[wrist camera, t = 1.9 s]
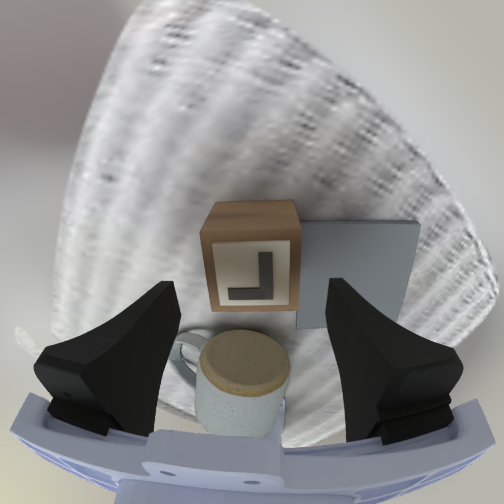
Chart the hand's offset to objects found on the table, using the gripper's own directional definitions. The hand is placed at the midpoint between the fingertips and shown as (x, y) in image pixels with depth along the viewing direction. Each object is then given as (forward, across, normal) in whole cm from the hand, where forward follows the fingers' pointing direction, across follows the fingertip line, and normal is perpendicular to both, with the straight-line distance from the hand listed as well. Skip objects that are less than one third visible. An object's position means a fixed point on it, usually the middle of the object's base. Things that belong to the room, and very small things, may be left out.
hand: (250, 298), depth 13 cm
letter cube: (+7, 0, 0) cm, 7 cm away
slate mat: (+7, -8, +4) cm, 11 cm away
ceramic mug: (+7, +3, +12) cm, 14 cm away
